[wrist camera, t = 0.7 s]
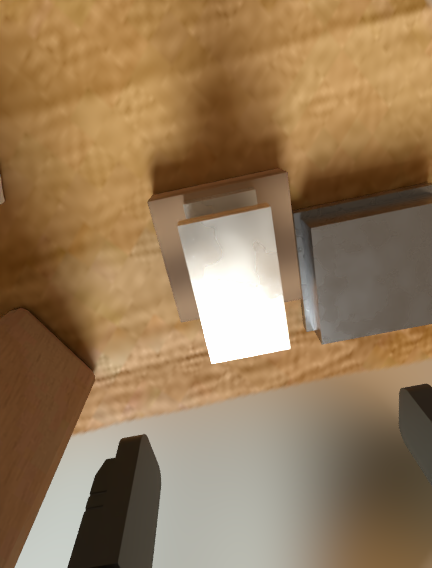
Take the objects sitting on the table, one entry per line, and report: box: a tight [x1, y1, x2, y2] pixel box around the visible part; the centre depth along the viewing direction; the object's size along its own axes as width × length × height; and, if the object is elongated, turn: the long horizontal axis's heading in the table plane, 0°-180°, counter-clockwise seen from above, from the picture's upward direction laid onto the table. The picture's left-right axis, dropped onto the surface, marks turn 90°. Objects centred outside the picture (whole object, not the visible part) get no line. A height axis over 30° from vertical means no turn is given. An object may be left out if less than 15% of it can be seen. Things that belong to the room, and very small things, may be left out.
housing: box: [177, 187, 290, 364], centre depth 23 cm, size 9×5×7 cm, turn 11°
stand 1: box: [148, 168, 302, 322], centre depth 28 cm, size 10×10×3 cm
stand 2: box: [292, 183, 432, 344], centre depth 29 cm, size 11×11×4 cm
